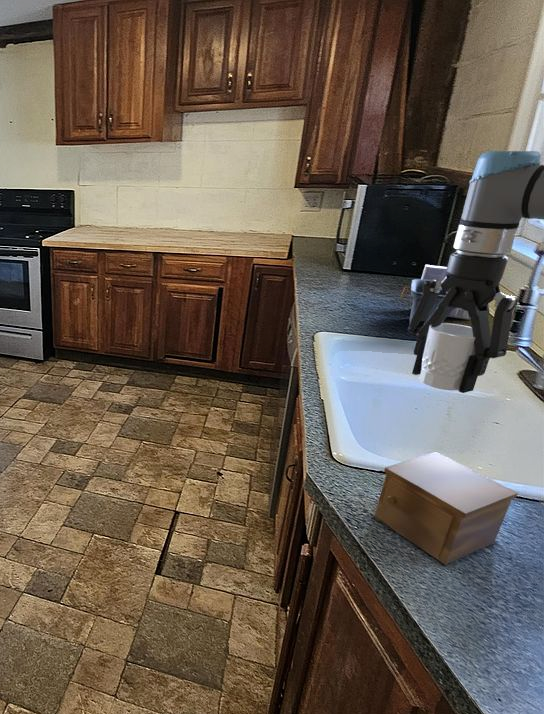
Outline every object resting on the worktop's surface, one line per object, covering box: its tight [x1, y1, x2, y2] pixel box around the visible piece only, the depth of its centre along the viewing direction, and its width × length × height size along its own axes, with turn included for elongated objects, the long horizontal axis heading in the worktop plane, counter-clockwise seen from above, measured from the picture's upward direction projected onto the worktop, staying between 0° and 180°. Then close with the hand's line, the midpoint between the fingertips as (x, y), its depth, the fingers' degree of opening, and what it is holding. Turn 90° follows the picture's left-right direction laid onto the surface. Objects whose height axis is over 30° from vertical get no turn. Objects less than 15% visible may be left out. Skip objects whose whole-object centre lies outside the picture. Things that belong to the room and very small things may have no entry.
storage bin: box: [400, 278, 445, 323], centre depth 182 cm, size 21×16×14 cm
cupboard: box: [373, 451, 519, 566], centre depth 85 cm, size 13×14×10 cm
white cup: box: [418, 322, 476, 391], centre depth 92 cm, size 8×8×10 cm
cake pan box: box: [420, 264, 471, 321], centre depth 194 cm, size 19×5×18 cm, turn 60°
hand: (441, 381), depth 94 cm, fingers closed on white cup, 8 cm apart
